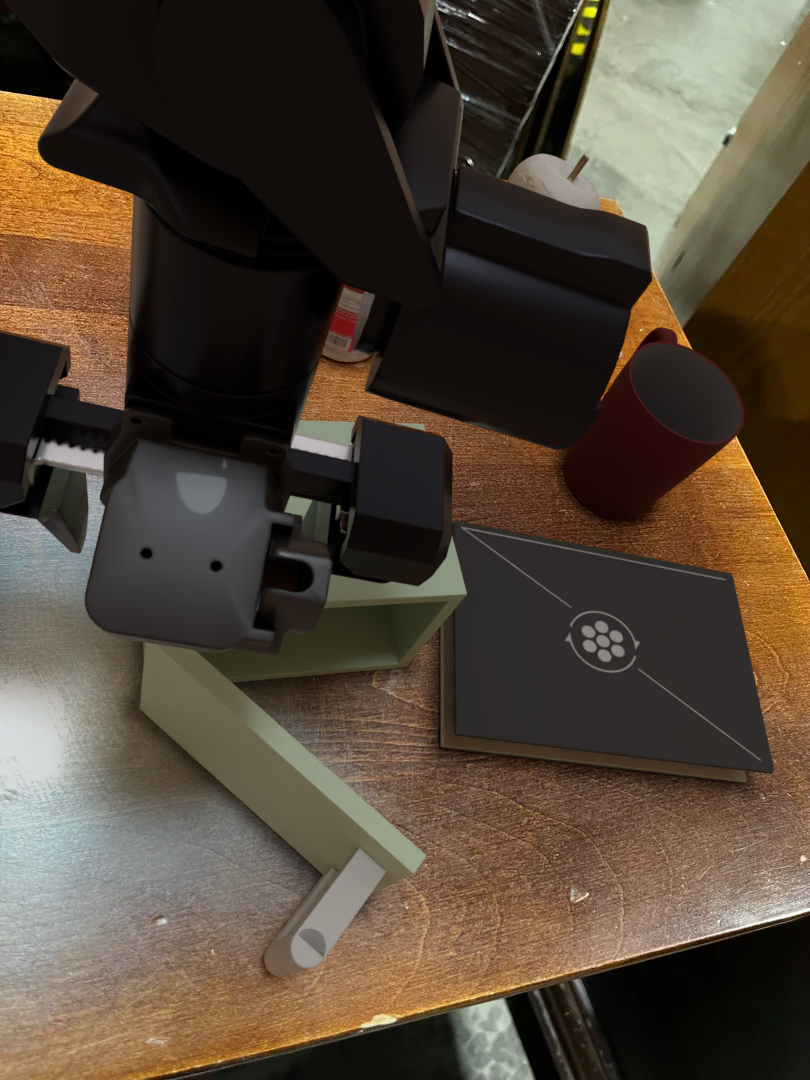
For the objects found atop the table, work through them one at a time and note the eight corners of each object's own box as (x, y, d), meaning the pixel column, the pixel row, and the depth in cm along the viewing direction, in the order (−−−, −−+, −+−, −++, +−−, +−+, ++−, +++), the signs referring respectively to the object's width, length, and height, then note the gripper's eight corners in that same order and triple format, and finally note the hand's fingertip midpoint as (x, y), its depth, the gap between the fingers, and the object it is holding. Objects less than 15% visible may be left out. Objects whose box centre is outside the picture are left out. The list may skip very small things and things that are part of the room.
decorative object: (470, 255, 73) (516, 158, 65) (496, 205, 78) (541, 109, 70) (556, 300, 73) (613, 210, 65) (577, 247, 78) (631, 157, 70)
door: (288, 994, 40) (336, 987, 31) (60, 782, 41) (47, 721, 33) (365, 887, 43) (427, 855, 35) (152, 695, 45) (162, 620, 36)
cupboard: (406, 667, 51) (467, 594, 42) (145, 690, 45) (153, 611, 36) (375, 516, 56) (424, 423, 47) (136, 520, 50) (141, 415, 41)
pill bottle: (368, 307, 66) (410, 192, 56) (386, 366, 63) (432, 255, 54) (294, 304, 63) (324, 183, 54) (308, 364, 61) (343, 249, 51)
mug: (549, 395, 67) (618, 297, 58) (644, 419, 69) (724, 327, 60) (558, 516, 61) (636, 427, 52) (662, 538, 63) (755, 456, 54)
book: (707, 587, 62) (732, 569, 59) (745, 784, 54) (775, 773, 51) (438, 538, 56) (453, 516, 54) (438, 748, 49) (455, 734, 46)
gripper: (-260, 473, 17) (-108, 704, 30) (529, 618, 22) (372, 766, 35) (-79, 159, 23) (-16, 464, 36) (515, 326, 28) (385, 544, 41)
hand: (185, 563), depth 37 cm, fingers open, 9 cm apart
